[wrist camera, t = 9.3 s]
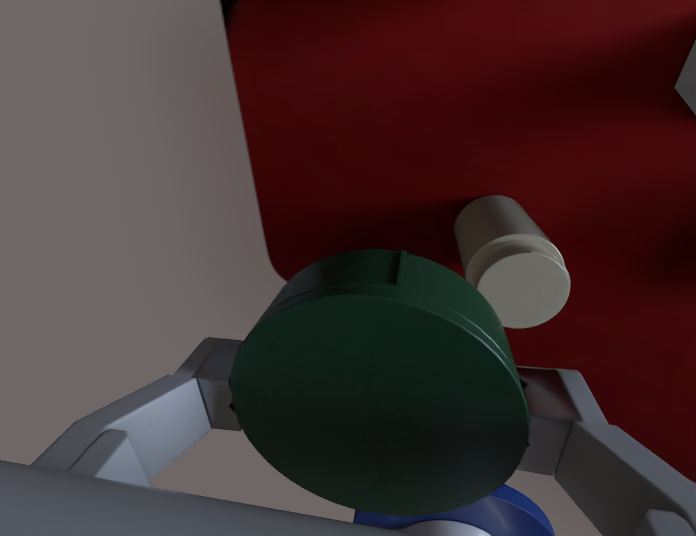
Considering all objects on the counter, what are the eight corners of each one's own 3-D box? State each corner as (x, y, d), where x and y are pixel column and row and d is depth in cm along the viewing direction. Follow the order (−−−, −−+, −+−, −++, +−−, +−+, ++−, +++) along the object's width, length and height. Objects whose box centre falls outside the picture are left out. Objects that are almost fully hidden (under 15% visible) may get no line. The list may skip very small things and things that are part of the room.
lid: (270, 221, 9) (224, 259, 7) (552, 277, 8) (590, 338, 6) (264, 411, 12) (232, 474, 10) (467, 465, 11) (475, 545, 9)
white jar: (513, 266, 32) (554, 342, 23) (446, 253, 33) (457, 323, 23) (538, 201, 30) (596, 257, 20) (464, 189, 30) (485, 237, 21)
